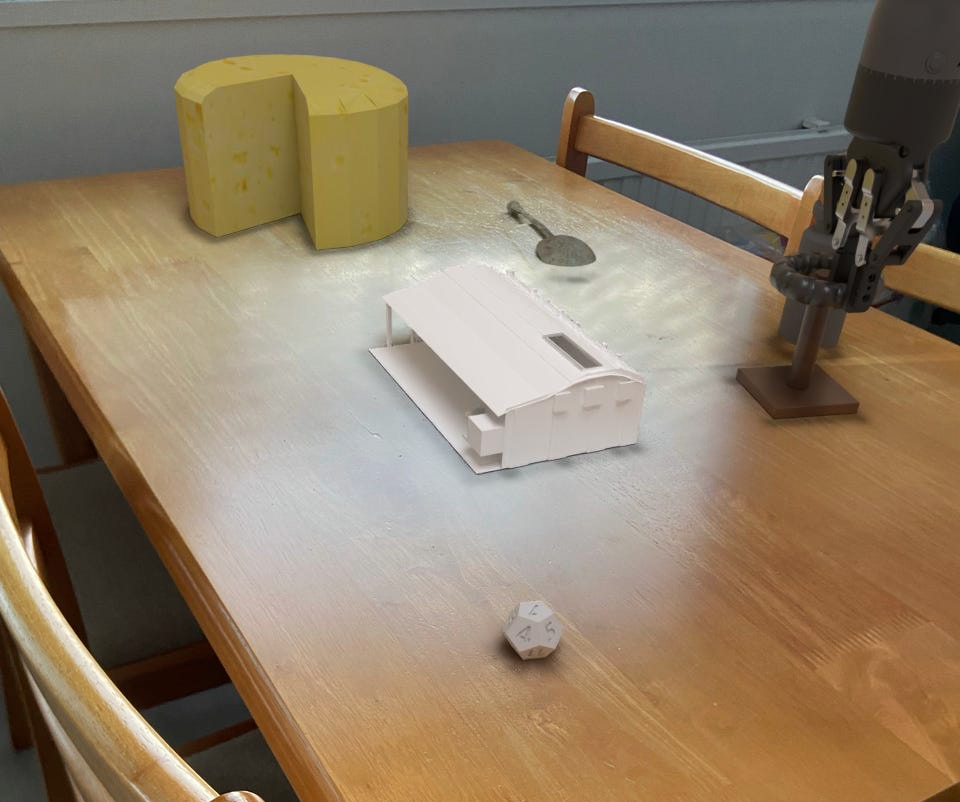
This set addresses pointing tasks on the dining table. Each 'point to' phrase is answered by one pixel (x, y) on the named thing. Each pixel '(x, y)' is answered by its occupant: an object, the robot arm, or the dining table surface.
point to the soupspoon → (556, 244)
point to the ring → (811, 280)
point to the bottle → (812, 242)
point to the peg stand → (800, 375)
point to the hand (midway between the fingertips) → (845, 303)
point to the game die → (532, 629)
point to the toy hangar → (508, 371)
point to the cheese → (295, 146)
